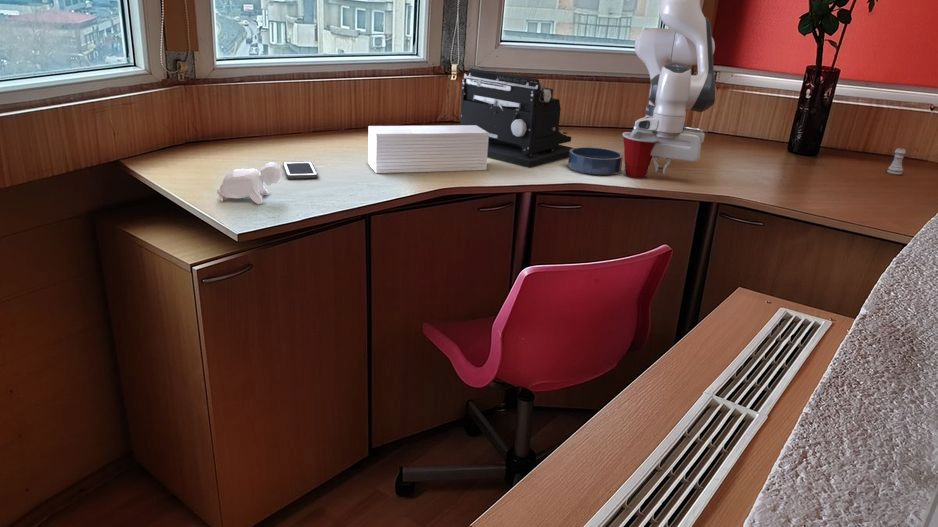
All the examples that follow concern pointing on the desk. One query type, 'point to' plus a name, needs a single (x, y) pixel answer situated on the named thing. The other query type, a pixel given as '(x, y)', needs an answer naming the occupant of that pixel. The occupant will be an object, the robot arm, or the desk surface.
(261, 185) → the white animal figurine
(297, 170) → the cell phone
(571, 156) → the bowl
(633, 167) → the plastic cup
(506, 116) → the typewriter
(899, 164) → the rook chess piece
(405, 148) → the stack of papers
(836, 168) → the desk surface
